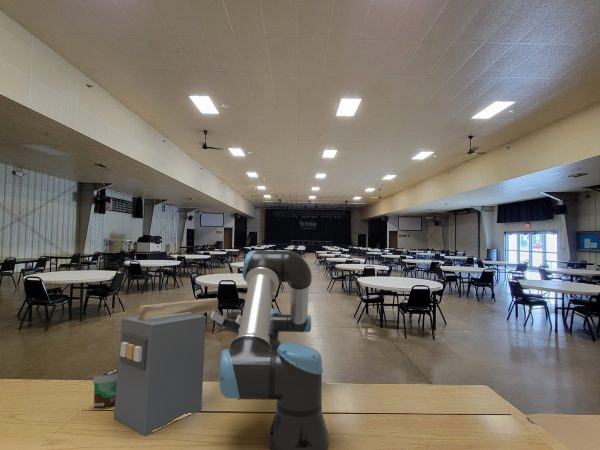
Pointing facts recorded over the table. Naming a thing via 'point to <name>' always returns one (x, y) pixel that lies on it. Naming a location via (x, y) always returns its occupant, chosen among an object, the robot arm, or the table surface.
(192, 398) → the cabinet
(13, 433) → the table surface
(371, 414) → the table surface
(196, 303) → the switch bar
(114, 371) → the food container
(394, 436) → the table surface
